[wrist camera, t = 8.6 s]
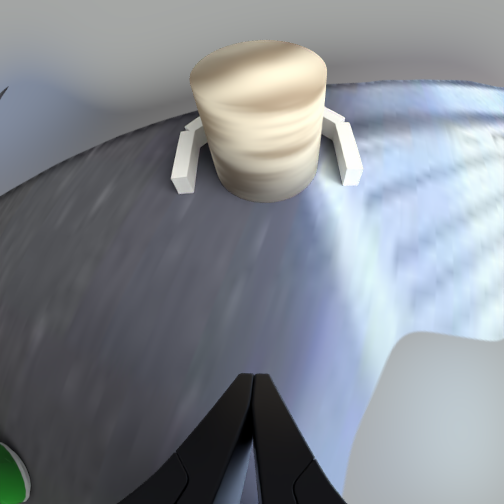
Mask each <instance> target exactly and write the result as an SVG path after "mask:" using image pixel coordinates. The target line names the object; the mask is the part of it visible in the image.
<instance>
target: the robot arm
mask: <svg viewBox="0 0 504 504" xmlns="http://www.w3.org/2000/svg"><path fill="white" fill-rule="evenodd" d="M252 443H253V448H254V459H255V470H256V481H257V491H258V501H259V504H347V503H346V502H345V501H344V499H343V498H342V497H341V496H340V494H339V493H338V492H337V491H336V489H335V488H334V487H333V485H332V484H331V483H330V481H329V480H328V478H327V476H326V475H325V473H324V472H323V470H322V469H321V467H320V465H319V463H318V462H317V460H316V459H315V457H314V455H313V453H312V451H311V450H310V448H309V446H308V444H307V443H306V441H305V439H304V437H303V435H302V434H301V432H300V430H299V428H298V426H297V425H296V423H295V421H294V419H293V417H292V415H291V414H290V412H289V410H288V408H287V406H286V404H285V403H284V401H283V399H282V397H281V395H280V393H279V391H278V389H277V388H276V386H275V384H274V382H273V380H272V378H271V376H270V375H269V374H255V376H254V374H252V373H241V374H239V375H238V376H237V378H236V379H235V380H234V381H233V383H232V384H231V385H230V386H229V388H228V389H227V390H226V391H225V393H224V394H223V395H222V396H221V398H220V399H219V400H218V401H217V403H216V404H215V405H214V406H213V408H212V409H211V410H210V411H209V412H208V414H207V415H206V416H205V417H204V418H203V420H202V421H201V422H200V423H199V424H198V426H197V427H196V428H195V429H194V430H193V432H192V433H191V434H190V435H189V436H188V437H187V439H186V440H185V441H184V442H183V443H182V444H181V446H180V447H179V448H178V449H177V450H176V453H173V454H172V456H171V457H170V458H169V459H168V460H167V461H166V462H165V463H164V464H163V465H162V466H161V467H160V468H159V470H158V471H157V472H156V473H155V474H153V475H152V476H151V477H150V478H149V479H148V480H147V481H145V482H144V483H143V484H142V485H141V486H139V487H138V488H137V489H136V490H134V491H133V492H132V493H131V494H129V495H128V496H127V497H125V498H124V499H123V500H121V501H120V502H119V503H117V504H240V500H241V495H242V491H243V486H244V482H245V477H246V473H247V468H248V463H249V458H250V454H251V449H252Z"/></svg>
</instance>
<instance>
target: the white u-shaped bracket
mask: <svg viewBox="0 0 504 504" xmlns="http://www.w3.org/2000/svg"><path fill="white" fill-rule="evenodd" d="M344 121H345V118H344V117H343V116H341V115H339V114H337V113H335V112H334V111H332V110H330V109H328V108H326V107H324V112H323V122H322V131H321V134H323V135H324V136H326V137H328V138H329V139H331V140H332V141H333V144H334V148H335V152H336V157H337V161H338V166H339V170H340V175H341V180H342V185H343V186H358V184H359V181H360V178H361V174H362V171H363V166H362V163H361V159H360V156H359V152H358V149H357V145H356V142H355V139H354V136H353V132H352V129H351V126H350V123H349V122H344ZM185 129H186V131H182V132H181V133H180V137H179V142H178V147H177V151H176V156H175V161H174V166H173V171H172V176H171V179H172V181H173V183H174V185H175V187H176V189H177V191H178V193H179V194H185V193H194V188H195V180H196V173H197V165H198V159H199V152H200V147H202V146H203V145H204V144H206V143H207V138H206V135H205V132H204V128H203V125H202V122H201V118H200V116H199V117H198V118H196V119H195V120H193V121H192V122H191V123H189V124H188V125H186V126H185Z"/></svg>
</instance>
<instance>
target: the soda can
mask: <svg viewBox="0 0 504 504" xmlns="http://www.w3.org/2000/svg"><path fill="white" fill-rule="evenodd" d="M30 488H31V483H30V477H29V475H28V472H27V469H26V467H25V465H24V463H23V462H22V460H21V459H20V458H19V456H18V455H17V454H16V453H15V452H14V451H12V450H11V449H10V448H9V447H8V446H7V445H5V444H3V443H2V442H0V504H17V503H22V502H25V501H27V499H28V498H29V494H30Z"/></svg>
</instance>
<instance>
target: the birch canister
mask: <svg viewBox="0 0 504 504" xmlns="http://www.w3.org/2000/svg"><path fill="white" fill-rule="evenodd" d="M326 77H327V68H326V65H325V63H324V61H323V60H322V59H321V57H319V56H318V55H317V54H316V53H314V52H313V51H311V50H309V49H307V48H305V47H302V46H300V45H296V44H293V43H289V42H283V41H274V40H257V41H247V42H241V43H236V44H233V45H229V46H226V47H223V48H221V49H218V50H216V51H214V52H212V53H210V54H209V55H207V56H206V57H204V58H203V59H201V60H200V61H199V62H198V63H197V65H195V67H194V68H193V70H192V72H191V74H190V84H191V88H192V91H193V95H194V98H195V101H196V105H197V108H198V112H199V115H200V118H201V122H202V125H203V128H204V132H205V135H206V138H207V142H208V145H209V148H210V151H211V155H212V158H213V161H214V165H215V168H216V171H217V174H218V177H219V180H220V181H221V183H222V184H223V186H224V187H225V188H226V189H227V190H228V191H229V192H231V193H232V194H234V195H235V196H237V197H239V198H242V199H245V200H248V201H252V202H259V203H271V202H278V201H283V200H286V199H289V198H291V197H293V196H296V195H297V194H299V193H301V192H302V191H303V190H304V189H306V188H307V187H308V186H309V184H310V183H311V182H312V180H313V179H314V177H315V175H316V171H317V166H318V158H319V149H320V140H321V131H322V122H323V112H324V101H325V90H326Z"/></svg>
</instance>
